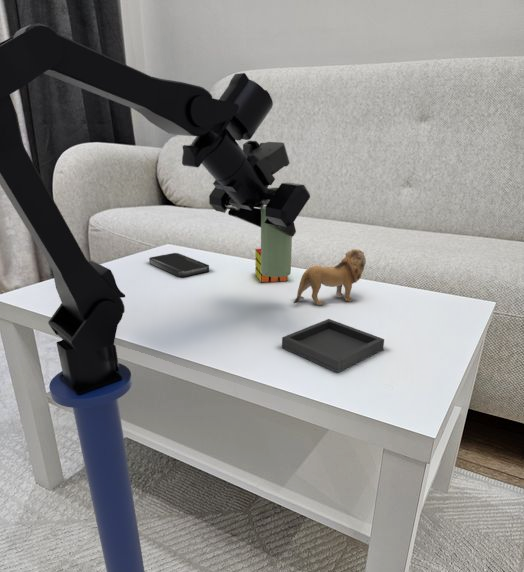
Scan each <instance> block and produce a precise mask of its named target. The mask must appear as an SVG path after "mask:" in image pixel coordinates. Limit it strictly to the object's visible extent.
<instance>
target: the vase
mask: <svg viewBox="0 0 524 572" xmlns="http://www.w3.org/2000/svg"><path fill="white" fill-rule="evenodd" d="M277 188H278V187H268V189H272V190H276V189H277ZM266 206H267V205H264V206H263V207H262V208H261V227H260V249H261V274H262V275H264V276H268V277H284V276H290V275H291V272H292V247H293V245H292V244H293V237H292V236H289V235H287V234H285V233H283V232H281V231H279V230H277V229H275V228H273V227H271V226H269V225H267V224H265V223H264V222H265V221H266V219H267V217H266V216H265V214H266Z"/></svg>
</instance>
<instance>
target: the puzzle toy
mask: <svg viewBox="0 0 524 572" xmlns="http://www.w3.org/2000/svg"><path fill="white" fill-rule="evenodd" d="M254 250H255V251H254V255H255V258H254V259H255V260H254V261H255V263H254V264H255V276H256V278H257V279H258V280H259V282H260V283H261V284H262V283H277V282H288V280H289V279H288V276H289V275H288V276H284V277H268V276H264V275H262V274H261V248H255V249H254Z"/></svg>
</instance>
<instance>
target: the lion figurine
mask: <svg viewBox="0 0 524 572" xmlns="http://www.w3.org/2000/svg"><path fill="white" fill-rule="evenodd" d="M366 262H367V260H366V255H365V252H364V251H362V250H360V249H357V248H352V249H350V250H348V251H346V252H345V256H344V258H343V259H341V261H340V262H338V264H337V265H335V266H329V267H326V266H321V265H314V266H310V267H309V268H308V269H306V270H305V271H304V272H303V274H302V276H301V278H300V281H299V285H298V288H297V293H296V298H295V300H294V301H293V304H298V302H304V300H305V297H304V296H302V294H303V293H304V292H305V291H307V289H309V288H310V287H311V291H312V292H311V299H312V300H313V302H314V304H316V305H317V306H322V305H324V303H323V302H324V301H322V300H320V299H319V298H318V295H319V292H320V290H321V287H322V285H323V286H325V287H329V288H334V287H335V288H336V291H335V296H336V298H344V300H345V301H346V302H353V298H352V297H351V296H350V295H351V292H352V287H353V284H356V283H358V281H360V279H361V277H362V275H363V272H364V270H365V266H366ZM343 287H344V294H343V293H342V288H343Z"/></svg>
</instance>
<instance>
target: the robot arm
mask: <svg viewBox="0 0 524 572" xmlns="http://www.w3.org/2000/svg"><path fill="white" fill-rule="evenodd" d="M43 74H44V75H46V76H49V77H52V78H55V79H57V80H60V81H62V82H64V83H67V84H70V85H72V86H75V87H77V88H79V89H82V90H84V91H87V92H90V93H91V94H95V95H98V96H99V97H103V98H105V99H107V100H110V101H113V102H115V103H117V104H120V105H123V106H126V107H128V108H130V109H133V110H134V111H136V112H137V113H139V114H141V115H142V116H143V117H144V118H145V119H146V120H147V121H148V122H149V123H151V124H153V125H154V126H156V127H157V128H159V129H160V130H162V131H164V132H166V133H167V134H169V135H172V136H181V137H182V136H183V137H185V136H186V137H195V138H194V139H193V141H192V142H191V144H184V145H182V156H181V157H182V158H181V164H182V166H184V167H190V168H200V166H201V165H202V166H203V167H204V168H205V170H206V171H207V172H208V173H209V174H210V176H212V178H213V179H214V181H213V182H212V185H213V186H214V188H213V189H212V191H211V193H210V194H209V196H208V203H209V205H210V206H211V207H212V208H213V210H215V212H219V213H223V214H225V213H226V212H227V214H228V216H230V217H233V218H236V219H239V220H240V221H243V222H246V223H248V224H251V225H253V226H255V227H259V228H261V208H262V207H263V206H266V214H265V216H266V217H267V219H266V221H265V222H264V223H265V224H267V225H269V226H271V227H273V228H275V229H277V230H279V231H281V232H283V233H285V234H287V235H289V236H292V238H293V237H294V236H295V235H296V232H297V230H296V226H295V221H296V219H297V218H298V216H299V215H300V213H301V212H302V210H303V209H304V207H305V206H306V204H307V203H308V201H309V200H310V199H311V193H310V192H309V190H308V188H307V187H306V186H305V184H301V183H293V182H281V183H280V185H279V186H278V187H276V188H277V189H276V190H272V189H268V188H269V186H272V185H273V183H274V182H275V180H276V178H275V177H274V174H276V173H277V172H280V170H282V169H283V168H284V167H285V168H286V167H288V166H289V165H290V158H289V156H288V152H287V149H286V145H285V142H280V141H279V142H278V141H266V142H260V143H259V142H258V141H257V140H251V139H252V138H253V136H254V134H255V133H256V132H257V130H259V127H260V126H261V125H262V123H263V122H264V121H265V119H266V117H267V116H268V114H269V113H270V112H271V110H272V109H273V106H274V104H273V102H274V101H273V98H272V97H271V94H270V93H269V91H268V90H267V89H264V88H263V86H261V85H260V84H259V83H257V82H256V81H254V80H251V79H250V78H249V77H248V75H247V74H246V73H245V72H240V73H235V74H234V75H233V76H232V77H231V79H230V81H229V84H228V86H227V87H226V88H225V90H224V91H223V93H222V94H221V96H220V97H219V98H214V97H213V95H212V94H211V92H210V91H208V90H207V89H206V88H204V86H203V87H202V86H200V85H196V84H191V83H188V82H183V81H178V80H171V79H166V78H160V77H154V76H151V75H149V74H147V73H145V72H143V71H141V70H138V69H137V68H134V67H131V66H129V65H127V64H125V63H123V62H121V61H119V60H116V59H114V58H113V57H110V56H109V55H105V54H104V53H101V52H99V51H97V50H94V49H92V48H91V47H88V46H86V45H83V44H82V43H80V42H77V41H75V40H73V39H71V38H69V37H66V36H64V35H62V34H60V33H58V32H56V31H55V30H54V29H53V28H52V27H50V26H49V25H47V24H44V23H39V22H38V23H31V24H29V25H27V26H24V27H22V28H19V30H17V31H16V32H15V33H14V35H12V36H10V37H9V38H7V39H5V40H2V41H1V42H0V187H1V188H2V190H3V192H4V193H5V195H6V196H7V198H8V200H9V201H10V203H11V205H12V206H13V208H14V210H15V211H16V213H17V215H18V216H19V219H20V220H21V221H22V223H23V224H24V226H25V228H26V229H27V231H28V232H29V234H30V236H31V238H32V239H33V241H34V242H35V244H36V245H37V247H38V249H39V250H40V252H41V254H42V255H43V257H44V258H45V260H46V262H47V263H48V265H49V266H50V267H49V268H50V269H51V271H52V275H53V280H54V283H55V284H54V286H55V289H56V291H57V294H58V298H59V299H60V302H61V303H60V305H59V306H58V307H57V309H56V310H55V311H54V313H53V314H52V316H51V318H49V320H48V321H47V322H48V325H49V327H50V328H51V330H52V331H53V333H54V334H55V335H56V336H58V337H59V338H60V339H61V340H59V341H56V343H55V344H56V347H57V352H58V357H59V358H58V359H59V362H60V366H61V371H62V372H63V374H61V375H60V376H59V378H60V380H61V381H62V382H63V383H64V384H65V385H67V386H68V387H69V388H70V389H71V390H72V391H73V392H74V393H75V394H76V395H83V394H86V393H88V392H91V391H94V390H97V389H99V388H102V387H105V386H107V385H110V384H113V383H116V382H118V381H121V380H122V376H121V375H120V374H119V373H117V371H119V365H118V363H119V359H118V352H117V346H116V344H115V341H116V336H117V331H118V327H119V324H120V323H121V321H122V319H123V316H124V314H125V311H126V310H125V309H126V308H125V304H124V301H123V300H122V298H126V294H125V293H123V292H122V291H121V289H119V287H118V285H117V282H116V278H115V275H114V273H113V271H112V270H111V269H110V268H109V267H105V266H104V265H101V264H100V263H97V262H96V261H94V260H90V261H89V260H88V259H87V257H86V256H85V254H84V252H83V250H82V248H81V247H80V245H79V243H78V242H77V240H76V237H75V236H74V234H73V233H72V231H71V229H70V227H69V225H68V223H67V221H66V220H65V218H64V216H63V214H62V212H61V211H60V209H59V207H58V205H57V203H56V201H55V199H54V198H53V196H52V194H51V192H50V191H49V189H48V187H47V185H46V183H45V182H44V180H43V178H42V176H41V174H40V173H39V171H38V169H37V167H36V166H35V164H34V162H33V160H32V159H31V156H30V155H29V153H28V151H27V150H26V146H25V144H24V142H23V136H22V131H21V127H20V122H19V117H18V113H17V110H16V108H15V106H14V102H13V100H12V99H13V98H12V97H11V95H12V94H13V93H15V92H17V91H19V90H20V89H23V88H24V87H25V86H27V85H28V84H30V83H31V82H33V81H34V80H35V79H36V78H38V77H40V76H41V75H43ZM242 140H245V141H246V142H245V143H243V144H242V147H241V146H240V144H239V143H238V142H239V141H242ZM237 141H238V142H237ZM228 209H229V210H228Z"/></svg>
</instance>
